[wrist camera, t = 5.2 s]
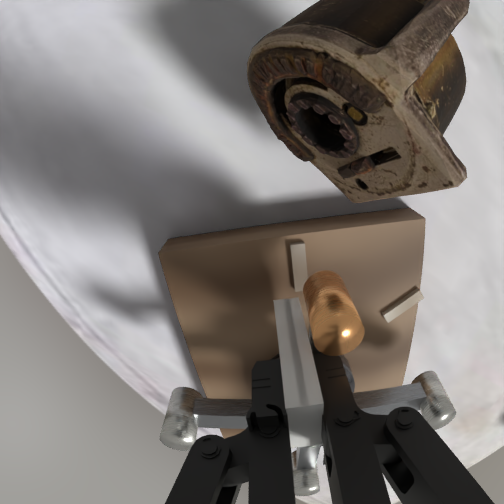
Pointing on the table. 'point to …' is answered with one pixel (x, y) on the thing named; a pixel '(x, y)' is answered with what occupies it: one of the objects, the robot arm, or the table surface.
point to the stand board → (295, 292)
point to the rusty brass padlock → (366, 93)
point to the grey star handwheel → (321, 340)
